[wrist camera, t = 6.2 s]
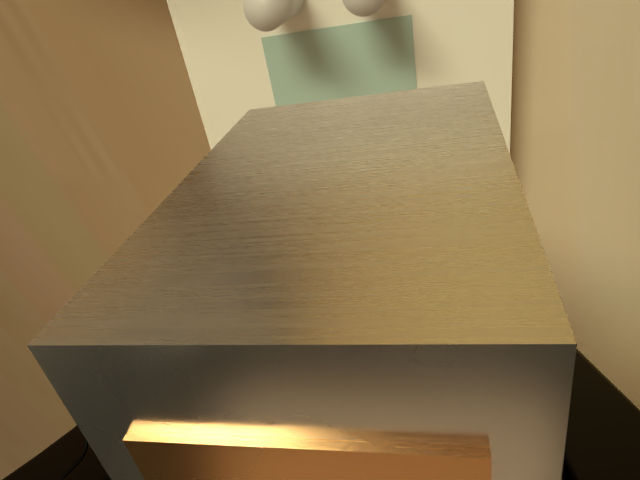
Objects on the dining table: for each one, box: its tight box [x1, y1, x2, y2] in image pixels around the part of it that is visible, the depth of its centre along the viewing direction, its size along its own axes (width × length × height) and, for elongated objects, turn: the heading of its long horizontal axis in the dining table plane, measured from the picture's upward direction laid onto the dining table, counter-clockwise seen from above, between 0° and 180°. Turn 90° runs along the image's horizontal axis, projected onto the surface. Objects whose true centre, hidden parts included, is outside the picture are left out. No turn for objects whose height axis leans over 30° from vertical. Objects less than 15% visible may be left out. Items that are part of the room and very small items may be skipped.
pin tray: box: [167, 0, 514, 153], centre depth 18 cm, size 11×18×4 cm, turn 10°
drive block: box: [27, 81, 577, 480], centre depth 8 cm, size 4×7×6 cm, turn 10°
